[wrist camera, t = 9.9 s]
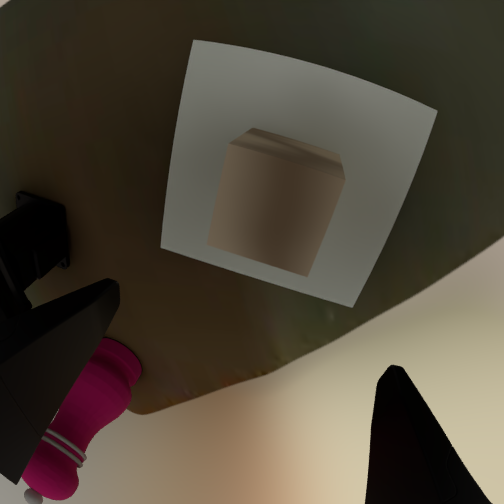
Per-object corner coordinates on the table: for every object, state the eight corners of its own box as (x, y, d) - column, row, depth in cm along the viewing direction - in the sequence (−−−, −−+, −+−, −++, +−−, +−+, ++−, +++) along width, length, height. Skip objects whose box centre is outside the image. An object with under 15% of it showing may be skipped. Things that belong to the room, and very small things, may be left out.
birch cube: (233, 206, 20) (206, 244, 15) (252, 127, 17) (228, 143, 13) (311, 231, 19) (307, 277, 15) (339, 154, 17) (345, 180, 13)
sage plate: (166, 240, 23) (160, 247, 22) (199, 41, 16) (193, 39, 15) (351, 298, 22) (352, 307, 22) (432, 109, 15) (437, 111, 14)
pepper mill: (86, 324, 31) (-18, 468, 14) (144, 348, 30) (48, 518, 13) (96, 365, 35) (16, 493, 18) (148, 387, 34) (75, 531, 17)
